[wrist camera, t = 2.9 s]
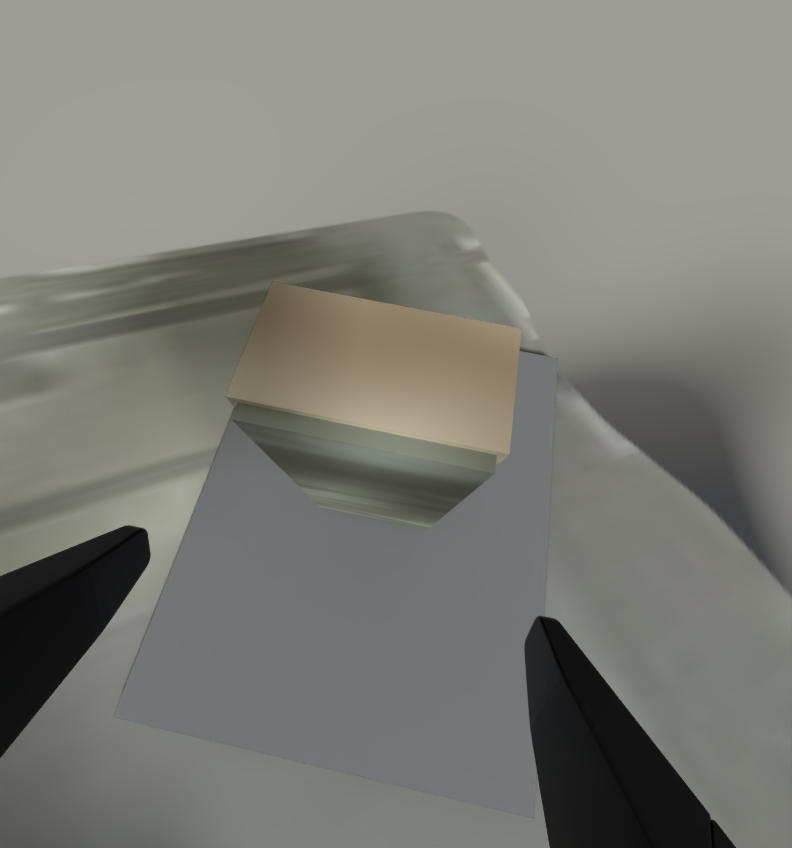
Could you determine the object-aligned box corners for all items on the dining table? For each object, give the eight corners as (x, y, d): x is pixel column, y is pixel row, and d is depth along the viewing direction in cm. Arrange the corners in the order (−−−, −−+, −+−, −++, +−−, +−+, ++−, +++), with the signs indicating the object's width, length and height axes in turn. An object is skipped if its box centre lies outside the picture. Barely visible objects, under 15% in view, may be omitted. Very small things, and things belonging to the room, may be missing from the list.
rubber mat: (529, 809, 16) (534, 818, 15) (122, 711, 16) (112, 717, 16) (553, 363, 24) (557, 358, 23) (278, 310, 24) (275, 304, 24)
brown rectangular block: (430, 531, 19) (507, 472, 7) (316, 506, 19) (217, 413, 8) (441, 465, 20) (521, 328, 9) (334, 443, 21) (272, 281, 9)
